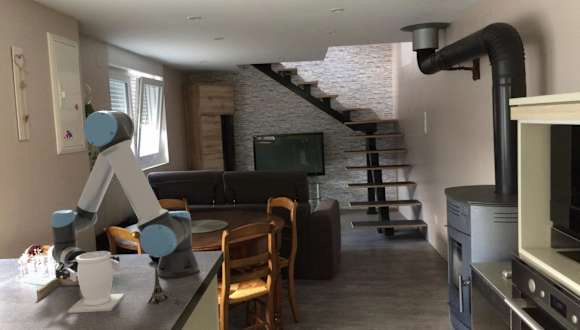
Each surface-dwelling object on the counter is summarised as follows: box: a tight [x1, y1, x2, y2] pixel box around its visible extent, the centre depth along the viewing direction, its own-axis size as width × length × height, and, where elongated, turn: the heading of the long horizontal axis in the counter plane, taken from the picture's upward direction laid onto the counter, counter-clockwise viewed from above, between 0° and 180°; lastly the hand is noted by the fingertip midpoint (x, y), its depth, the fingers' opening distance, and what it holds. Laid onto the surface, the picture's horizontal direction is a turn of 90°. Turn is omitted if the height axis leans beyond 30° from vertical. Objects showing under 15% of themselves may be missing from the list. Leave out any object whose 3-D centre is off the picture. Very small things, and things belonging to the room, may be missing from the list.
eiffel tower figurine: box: [139, 264, 183, 306], centre depth 161 cm, size 15×10×13 cm
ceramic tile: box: [67, 293, 125, 314], centre depth 162 cm, size 13×13×1 cm
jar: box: [76, 250, 114, 306], centre depth 161 cm, size 11×10×15 cm
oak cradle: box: [36, 275, 84, 300], centre depth 176 cm, size 15×15×3 cm
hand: (97, 271), depth 159 cm, fingers open, 13 cm apart
